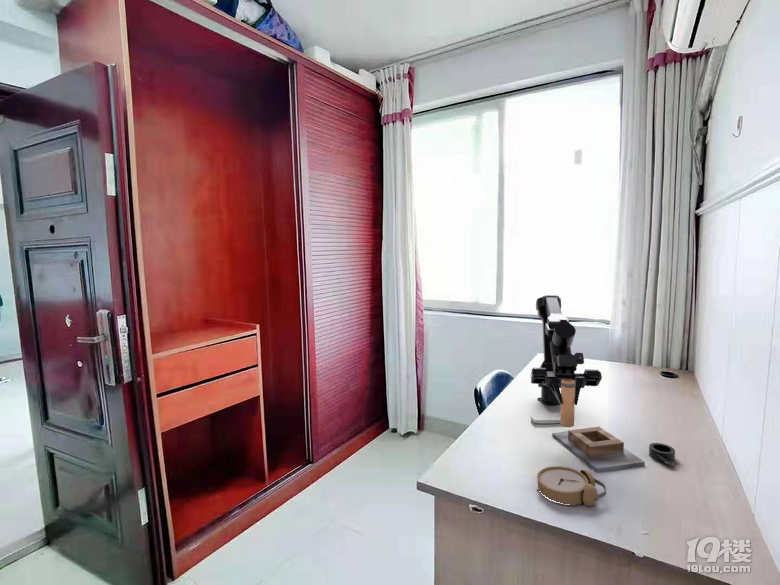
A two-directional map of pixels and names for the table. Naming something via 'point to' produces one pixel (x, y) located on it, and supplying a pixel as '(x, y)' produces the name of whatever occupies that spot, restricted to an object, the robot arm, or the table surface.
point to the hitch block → (598, 449)
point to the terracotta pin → (567, 402)
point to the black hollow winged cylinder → (662, 453)
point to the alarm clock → (569, 485)
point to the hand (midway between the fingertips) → (568, 404)
